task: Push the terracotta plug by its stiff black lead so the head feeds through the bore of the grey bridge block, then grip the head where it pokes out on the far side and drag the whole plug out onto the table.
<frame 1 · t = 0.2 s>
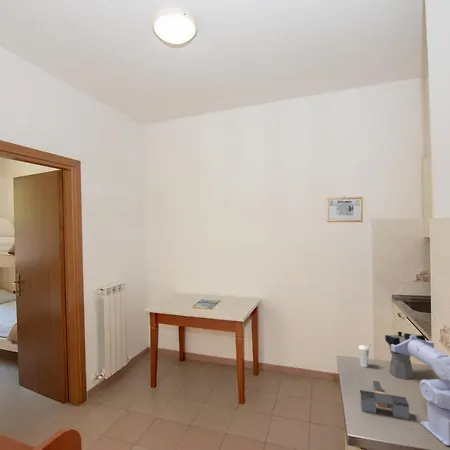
hand: (395, 336, 105), 22 cm above the countertop, tool horizontal, fingers open, 7 cm apart
milkshake: (365, 366, 127), on the countertop
plug: (379, 397, 103), on the countertop
coffeepot: (402, 373, 120), on the countertop
grey bridge block: (383, 411, 95), on the countertop
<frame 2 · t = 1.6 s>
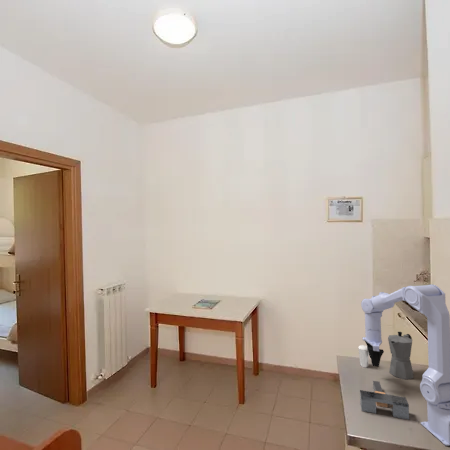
hand: (374, 361, 113), 8 cm above the countertop, tool pointing down, fingers open, 7 cm apart
nothing on the countertop moved.
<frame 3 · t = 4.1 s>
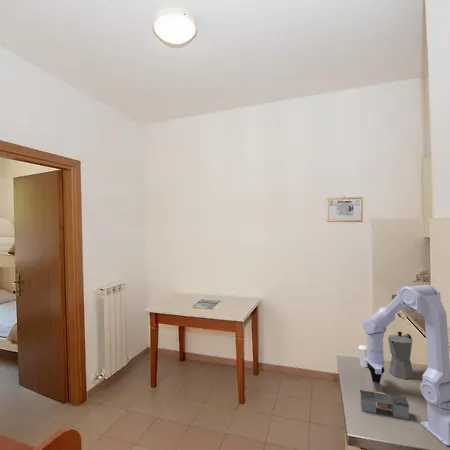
hand: (376, 384, 109), 1 cm above the countertop, tool pointing down, fingers closed
plug: (379, 397, 103), on the countertop, touching gripper
everything else where it was.
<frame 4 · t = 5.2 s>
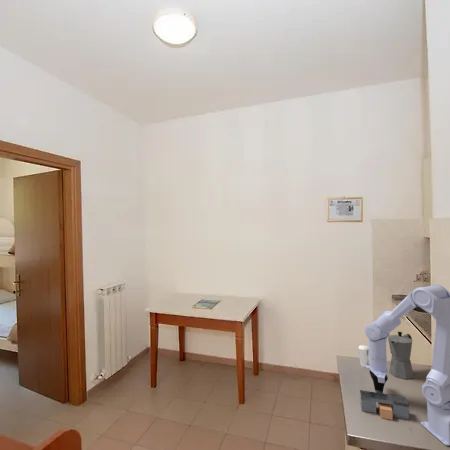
hand: (378, 392, 103), 1 cm above the countertop, tool pointing down, fingers closed
plug: (382, 407, 97), on the countertop, touching gripper
everything else where it was.
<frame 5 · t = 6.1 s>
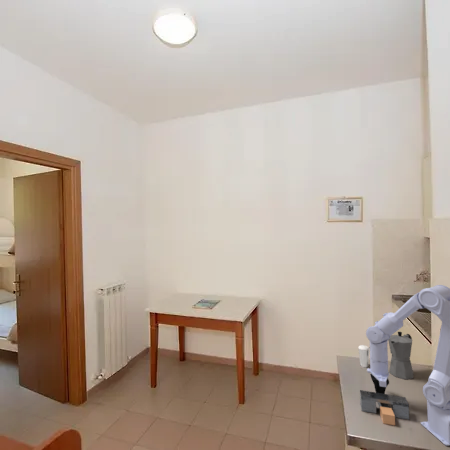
hand: (380, 396, 101), 1 cm above the countertop, tool pointing down, fingers closed
plug: (384, 412, 94), on the countertop, touching gripper
everything else where it was.
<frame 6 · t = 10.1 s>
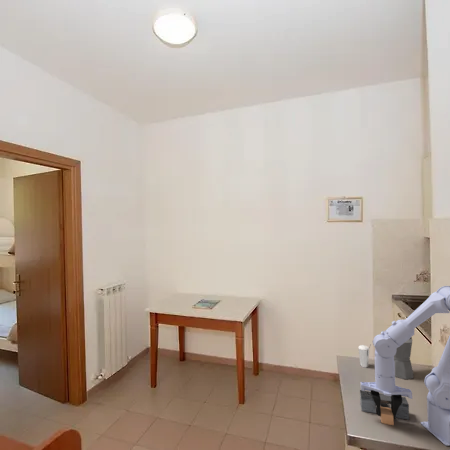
hand: (386, 415, 90), 2 cm above the countertop, tool pointing down, fingers closed on plug, 3 cm apart
plug: (384, 412, 94), on the countertop, touching gripper
everything else where it was.
when the fingers open (2 cm above the countertop, at t = 12.7 s): plug stays where it is, on the countertop.
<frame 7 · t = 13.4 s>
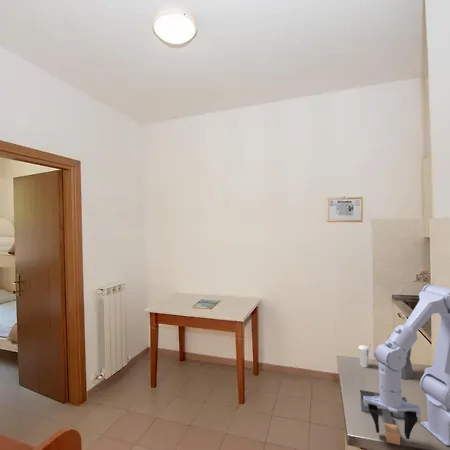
hand: (391, 433, 82), 2 cm above the countertop, tool pointing down, fingers open, 7 cm apart
plug: (389, 429, 86), on the countertop
everything else where it was.
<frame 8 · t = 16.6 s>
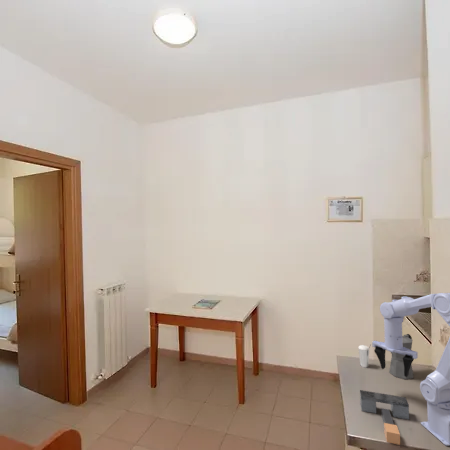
hand: (394, 371, 103), 9 cm above the countertop, tool pointing down, fingers open, 7 cm apart
nothing on the countertop moved.
at the end: plug 0.8 cm from the target spot on the countertop beside the grey bridge block, on the countertop; the gripper is holding nothing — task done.
